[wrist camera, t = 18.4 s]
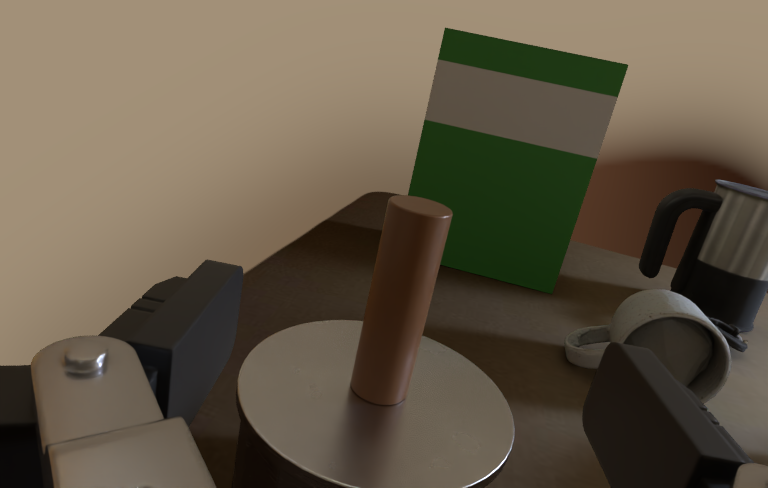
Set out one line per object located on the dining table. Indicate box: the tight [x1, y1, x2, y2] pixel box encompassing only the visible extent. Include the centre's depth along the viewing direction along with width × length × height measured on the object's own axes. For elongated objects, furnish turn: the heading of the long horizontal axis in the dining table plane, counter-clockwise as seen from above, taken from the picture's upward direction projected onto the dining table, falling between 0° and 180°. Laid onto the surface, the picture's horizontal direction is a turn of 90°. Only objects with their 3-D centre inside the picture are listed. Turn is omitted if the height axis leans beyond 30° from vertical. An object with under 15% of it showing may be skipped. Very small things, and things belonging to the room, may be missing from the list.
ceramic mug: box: [564, 289, 731, 404], centre depth 43 cm, size 11×8×8 cm
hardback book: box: [408, 28, 628, 294], centre depth 59 cm, size 18×7×24 cm, turn 78°
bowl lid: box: [236, 195, 514, 488], centre depth 21 cm, size 11×11×9 cm
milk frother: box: [639, 180, 768, 352], centre depth 57 cm, size 14×16×15 cm
